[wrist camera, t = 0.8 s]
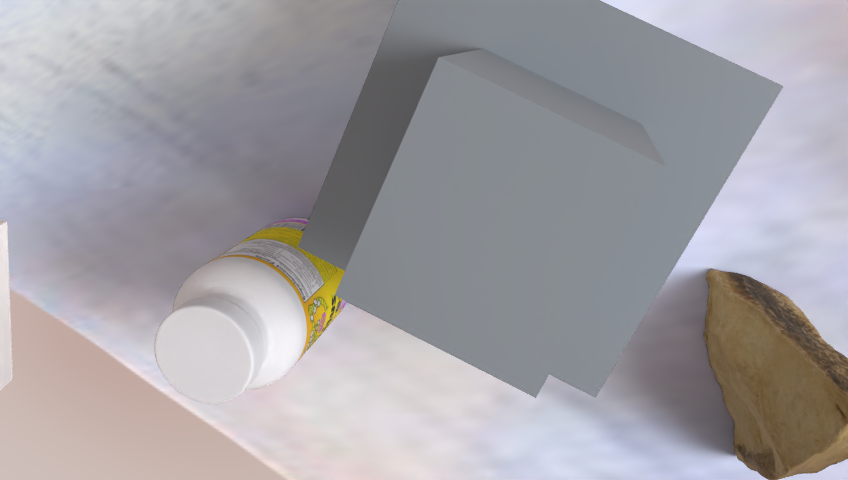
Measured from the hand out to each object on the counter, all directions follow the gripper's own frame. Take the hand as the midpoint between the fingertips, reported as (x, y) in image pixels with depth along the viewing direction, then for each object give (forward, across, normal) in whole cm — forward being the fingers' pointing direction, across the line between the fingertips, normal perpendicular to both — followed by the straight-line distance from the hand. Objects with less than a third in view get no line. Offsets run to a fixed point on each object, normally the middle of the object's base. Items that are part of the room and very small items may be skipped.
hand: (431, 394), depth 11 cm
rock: (+28, -18, +13) cm, 35 cm away
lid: (+22, -2, +3) cm, 23 cm away
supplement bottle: (+31, +8, +14) cm, 35 cm away
